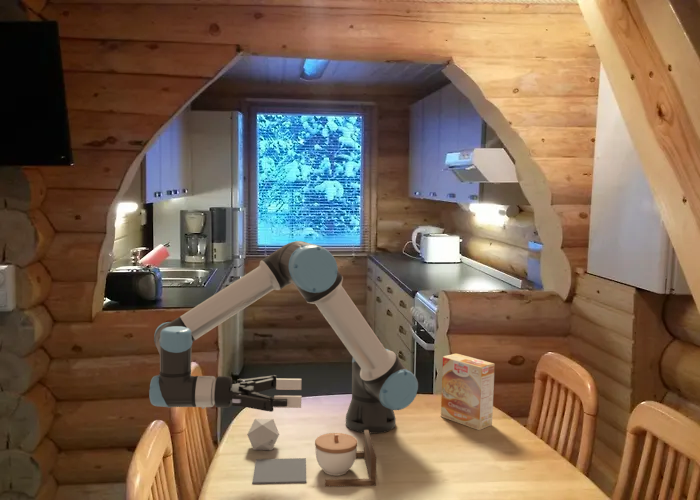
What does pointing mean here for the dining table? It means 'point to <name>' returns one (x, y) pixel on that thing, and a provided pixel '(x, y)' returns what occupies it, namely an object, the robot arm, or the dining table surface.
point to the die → (263, 434)
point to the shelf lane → (370, 465)
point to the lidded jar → (335, 452)
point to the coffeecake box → (467, 391)
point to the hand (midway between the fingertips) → (301, 392)
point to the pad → (280, 471)
